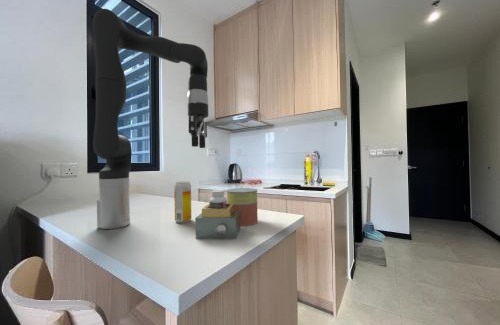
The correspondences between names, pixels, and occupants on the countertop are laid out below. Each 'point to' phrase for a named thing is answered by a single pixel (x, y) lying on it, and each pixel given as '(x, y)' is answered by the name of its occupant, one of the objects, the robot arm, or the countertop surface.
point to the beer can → (182, 201)
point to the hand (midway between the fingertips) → (198, 147)
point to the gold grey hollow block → (218, 222)
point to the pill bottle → (218, 199)
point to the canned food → (244, 204)
